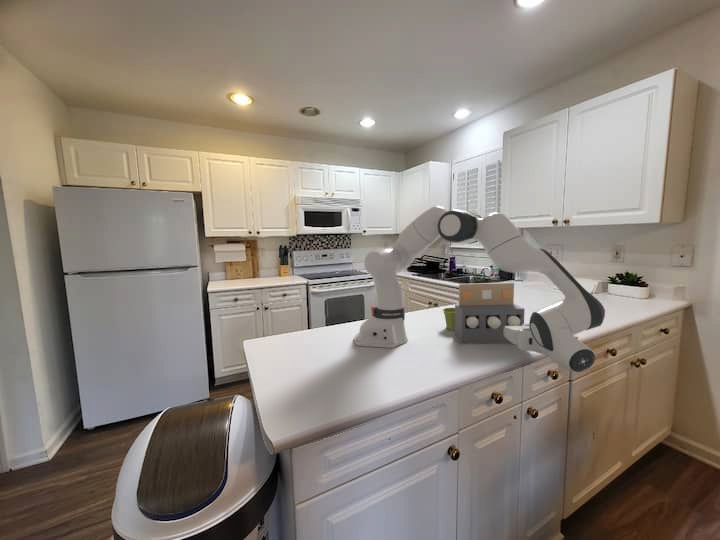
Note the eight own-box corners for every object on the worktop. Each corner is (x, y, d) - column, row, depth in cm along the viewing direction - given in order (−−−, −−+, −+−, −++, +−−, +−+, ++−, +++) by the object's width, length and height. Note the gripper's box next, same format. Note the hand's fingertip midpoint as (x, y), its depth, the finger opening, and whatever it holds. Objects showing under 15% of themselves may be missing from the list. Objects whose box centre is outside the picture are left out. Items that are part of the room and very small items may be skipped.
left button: (467, 328, 116) (467, 317, 115) (464, 325, 120) (464, 314, 119) (478, 328, 116) (478, 317, 115) (475, 325, 119) (475, 314, 119)
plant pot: (440, 330, 135) (440, 311, 134) (445, 324, 144) (445, 306, 143) (462, 332, 131) (462, 313, 130) (465, 326, 139) (465, 308, 138)
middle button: (489, 328, 114) (489, 317, 114) (485, 325, 118) (485, 315, 117) (500, 328, 114) (500, 317, 114) (496, 325, 118) (497, 315, 117)
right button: (508, 327, 115) (509, 316, 115) (504, 324, 119) (504, 314, 118) (520, 327, 115) (520, 316, 115) (515, 324, 119) (516, 313, 118)
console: (461, 344, 118) (462, 287, 115) (454, 335, 128) (455, 283, 125) (523, 343, 117) (525, 286, 114) (511, 334, 126) (513, 281, 124)
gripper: (582, 329, 92) (555, 317, 106) (515, 330, 93) (497, 317, 107) (580, 349, 93) (554, 334, 107) (514, 349, 94) (496, 334, 107)
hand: (525, 326), depth 107 cm, fingers closed
